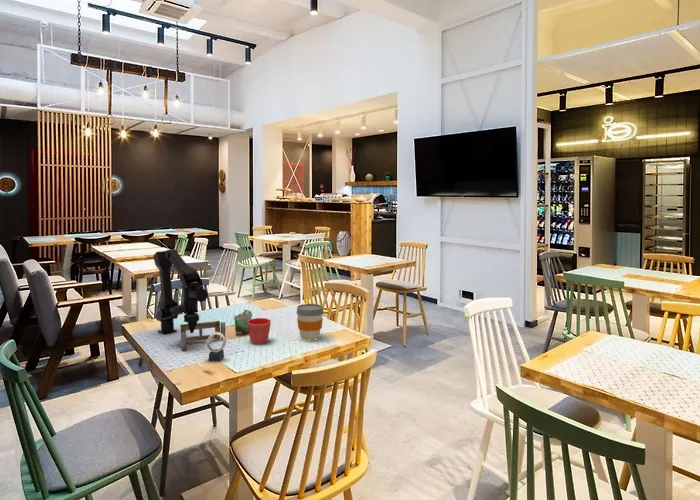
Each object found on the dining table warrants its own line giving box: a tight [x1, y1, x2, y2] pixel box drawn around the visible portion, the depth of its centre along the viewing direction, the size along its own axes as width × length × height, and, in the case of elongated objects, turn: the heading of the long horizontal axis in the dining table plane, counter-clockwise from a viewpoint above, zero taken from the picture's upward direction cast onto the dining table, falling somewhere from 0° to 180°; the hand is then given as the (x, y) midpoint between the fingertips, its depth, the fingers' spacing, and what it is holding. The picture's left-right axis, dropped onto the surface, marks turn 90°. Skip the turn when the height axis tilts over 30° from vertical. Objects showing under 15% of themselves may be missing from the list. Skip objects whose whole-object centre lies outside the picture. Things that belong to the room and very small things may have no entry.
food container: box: [233, 309, 253, 336], centre depth 223 cm, size 12×6×10 cm, turn 168°
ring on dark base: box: [205, 331, 227, 362], centre depth 188 cm, size 6×8×11 cm
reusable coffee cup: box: [296, 303, 324, 341], centre depth 217 cm, size 13×13×15 cm
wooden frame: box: [180, 320, 221, 344], centre depth 209 cm, size 2×17×8 cm, turn 115°
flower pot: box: [247, 317, 272, 345], centre depth 211 cm, size 11×11×10 cm
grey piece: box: [180, 321, 227, 352], centre depth 206 cm, size 2×22×8 cm, turn 141°
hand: (191, 332), depth 208 cm, fingers open, 2 cm apart
